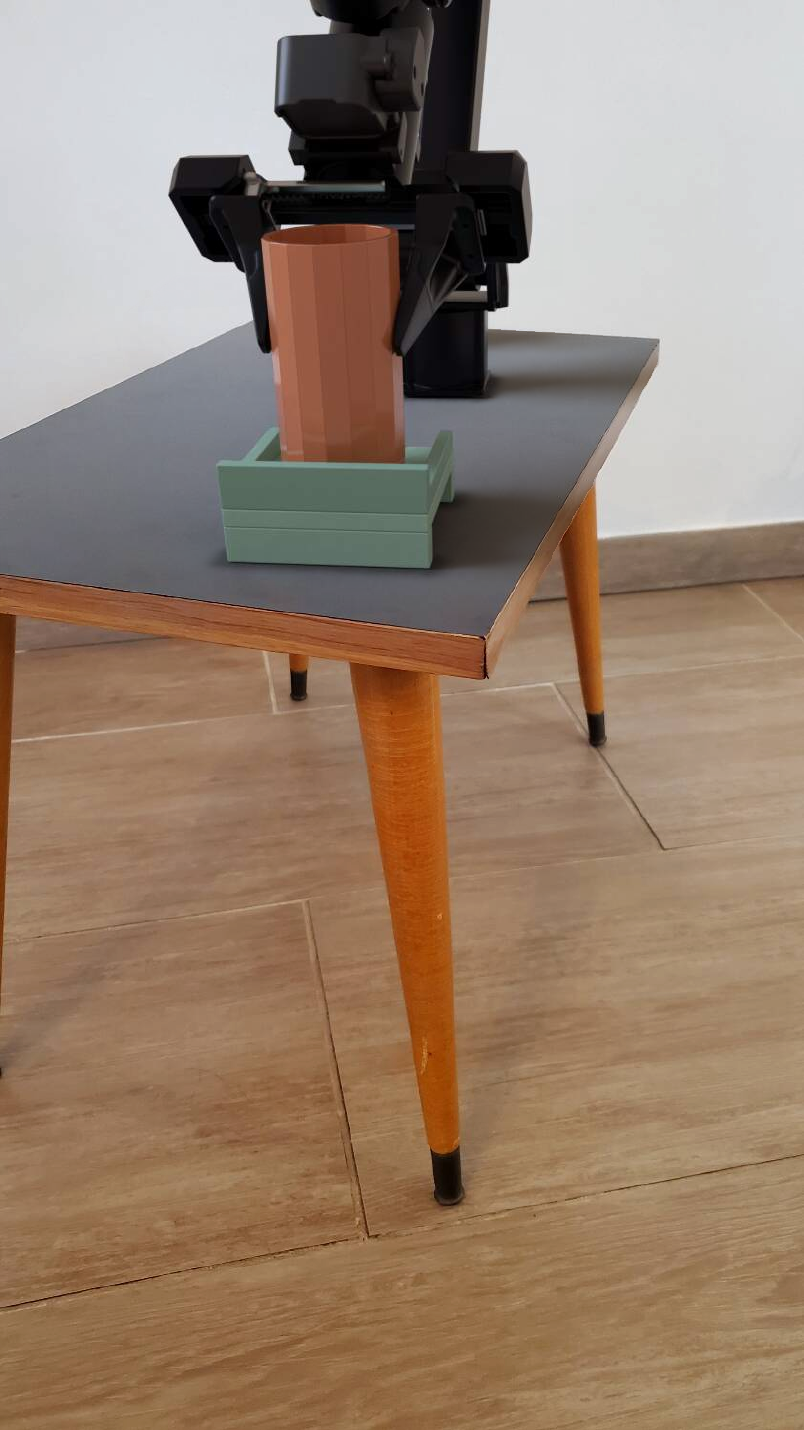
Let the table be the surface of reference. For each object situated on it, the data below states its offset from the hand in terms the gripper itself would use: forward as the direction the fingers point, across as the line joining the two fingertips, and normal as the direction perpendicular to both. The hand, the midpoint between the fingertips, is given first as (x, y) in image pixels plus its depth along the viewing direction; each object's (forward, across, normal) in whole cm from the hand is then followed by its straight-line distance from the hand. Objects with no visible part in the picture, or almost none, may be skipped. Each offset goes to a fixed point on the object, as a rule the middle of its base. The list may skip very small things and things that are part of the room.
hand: (329, 350), depth 57 cm
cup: (+4, 0, +6) cm, 7 cm away
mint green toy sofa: (+6, 0, +8) cm, 10 cm away
